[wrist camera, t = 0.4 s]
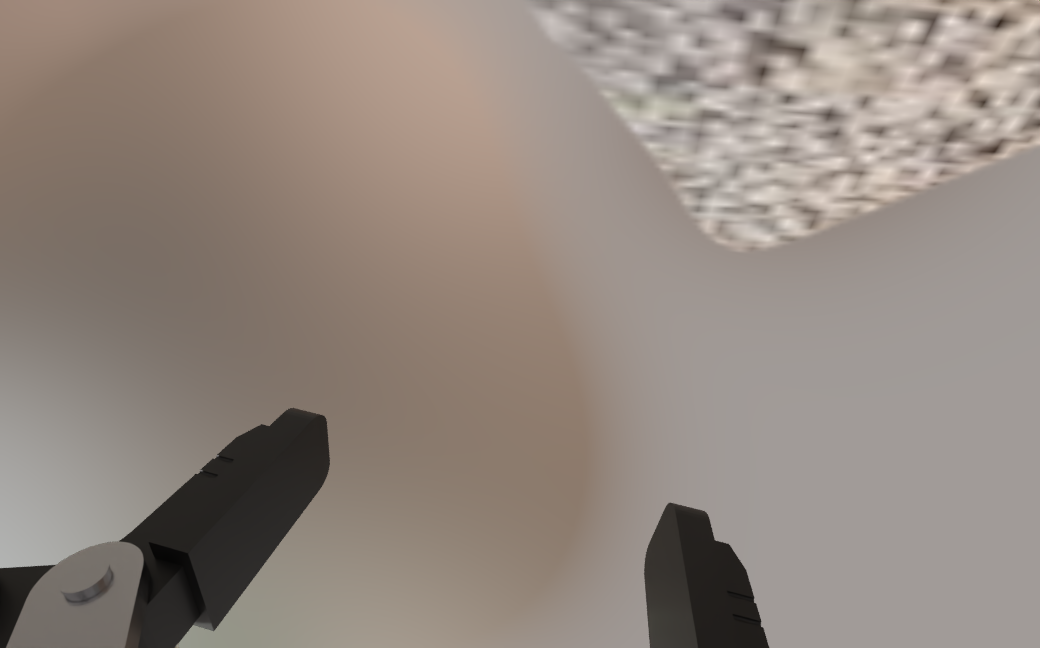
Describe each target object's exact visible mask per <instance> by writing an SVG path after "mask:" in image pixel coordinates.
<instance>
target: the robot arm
mask: <svg viewBox="0 0 1040 648" xmlns="http://www.w3.org/2000/svg"><path fill="white" fill-rule="evenodd" d="M329 465H330V458H329V445H328V432H327V421H326V418H325V417H324V416H323V415H320V414H316V413H311V412H307V411H303V410H299V409H295V408H290V409H288V410H286V411H285V412H284V413H283V414H282V415H281V416H280V417H279V418H278V419H276V421H274V422H273V423H272V424H271V425H270V426H266V425H262V424H261V425H260V426H258V427H256V428H254V429H252V430H250V431H248V432H246V433H244V434H242V435H240V436H238V437H236V438H235V439H234V440H233V441H232V442H231V443H230V444H229V445H228V446H227V447H225V448H224V449H223V450H222V451H221V452H220V453H219V454H217V457H216V458H215V459H212V460H211V461H210V462H209V463H207V464H206V465H205V466H204V467H203V468H202V469H201V470H200V473H199V474H195V475H194V476H193V477H192V478H191V479H190V480H189V481H188V482H187V483H185V484H184V485H183V486H182V487H181V488H180V489H179V490H177V491H176V492H175V493H174V494H173V495H172V496H171V497H170V498H169V499H167V500H166V501H165V502H164V503H163V504H162V505H161V506H160V507H159V508H157V509H156V510H155V511H154V512H153V513H152V514H151V515H150V516H148V517H147V518H146V519H145V520H144V521H143V522H142V523H141V524H140V525H139V526H137V527H136V528H135V529H134V530H133V531H132V532H131V533H129V534H128V535H127V536H126V537H124V538H123V539H122V540H120V541H119V542H107V543H102V544H98V545H95V546H91V547H88V548H86V549H83V550H81V551H79V552H77V553H75V554H73V555H71V556H69V557H67V558H66V559H64V560H62V561H61V562H59V563H58V564H57V565H48V566H33V567H16V568H0V648H179V642H180V640H181V639H182V638H183V637H184V635H185V634H186V633H187V632H188V631H189V629H190V628H191V627H192V625H196V626H199V627H202V628H205V629H209V630H212V631H214V630H215V629H216V628H217V626H218V625H219V624H220V622H221V621H222V620H223V618H224V617H225V616H226V614H227V613H228V612H229V610H230V609H231V608H232V606H233V605H234V604H235V602H236V601H237V600H238V598H239V597H240V596H241V594H242V593H243V591H244V590H245V589H246V588H247V586H248V585H249V584H250V582H251V581H252V580H253V578H254V577H255V576H256V574H257V573H258V572H259V570H260V569H261V568H262V566H263V565H264V563H265V562H266V560H267V559H268V558H269V557H270V555H271V554H272V553H273V551H274V550H275V549H276V547H277V546H278V545H279V543H280V542H281V541H282V539H283V538H284V537H285V535H286V534H287V533H288V531H289V530H290V529H291V527H292V526H293V525H294V523H295V522H296V521H297V519H298V518H299V517H300V515H301V514H302V513H303V511H304V510H305V509H306V507H307V506H308V504H309V503H310V502H311V501H312V499H313V498H314V496H315V495H316V494H317V493H318V491H319V490H320V488H321V487H322V485H323V483H324V481H325V479H326V477H327V474H328V470H329ZM644 571H645V572H644V575H645V589H646V602H647V615H648V627H649V639H650V648H769V646H768V643H767V639H766V636H765V632H764V629H763V627H761V619H760V615H759V612H758V609H757V606H756V603H754V596H753V592H752V588H751V585H750V582H749V579H748V575H747V572H746V569H745V568H744V566H743V565H742V563H741V562H740V560H739V559H738V557H737V556H736V554H735V553H734V551H733V550H732V548H731V547H730V545H729V544H726V543H723V542H719V541H715V540H714V536H713V532H712V528H711V524H710V520H709V517H708V514H707V513H706V512H705V511H702V510H698V509H694V508H690V507H686V506H682V505H677V504H673V503H669V504H668V505H667V506H666V508H665V510H664V512H663V514H662V516H661V519H660V521H659V523H658V525H657V528H656V530H655V532H654V534H653V536H652V538H651V541H650V543H649V545H648V548H647V552H646V558H645V569H644Z"/></svg>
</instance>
